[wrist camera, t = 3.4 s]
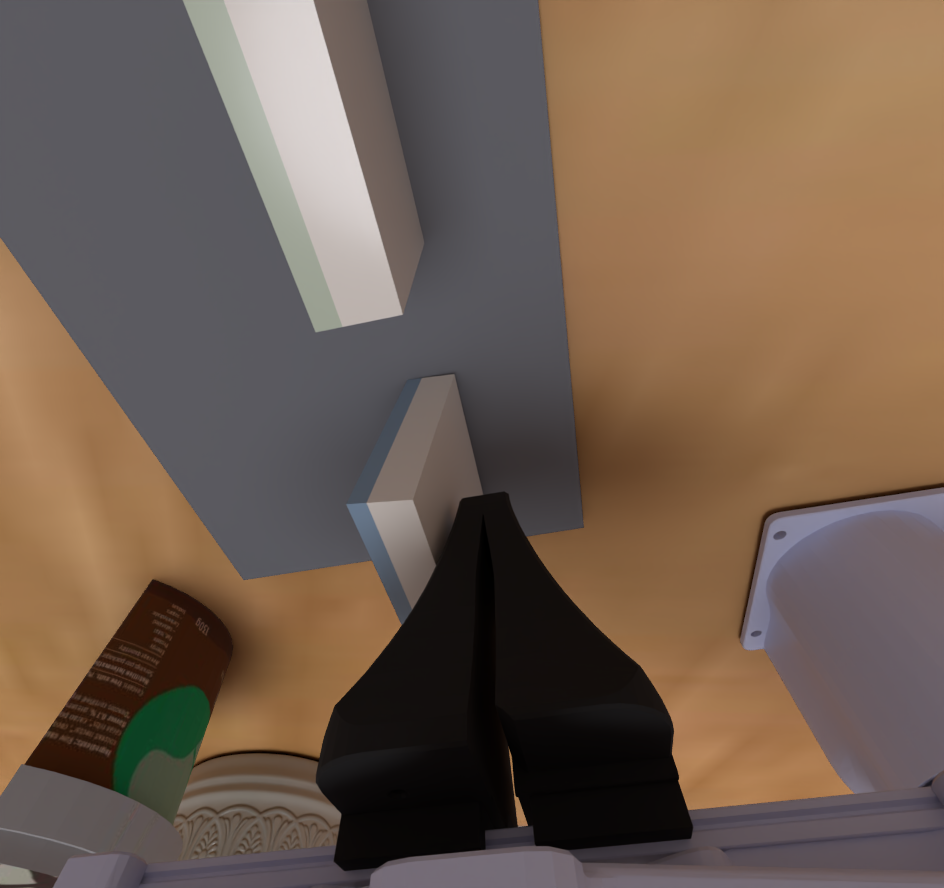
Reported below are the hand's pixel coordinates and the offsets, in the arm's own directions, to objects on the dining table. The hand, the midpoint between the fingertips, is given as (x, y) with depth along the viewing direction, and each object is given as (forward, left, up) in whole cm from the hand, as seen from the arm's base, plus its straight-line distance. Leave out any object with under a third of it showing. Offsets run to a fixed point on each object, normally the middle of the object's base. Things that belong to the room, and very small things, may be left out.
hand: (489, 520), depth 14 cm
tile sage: (+10, +1, -4) cm, 11 cm away
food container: (-10, +17, -5) cm, 20 cm away
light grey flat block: (0, +1, -4) cm, 4 cm away
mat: (+5, +4, -4) cm, 8 cm away
